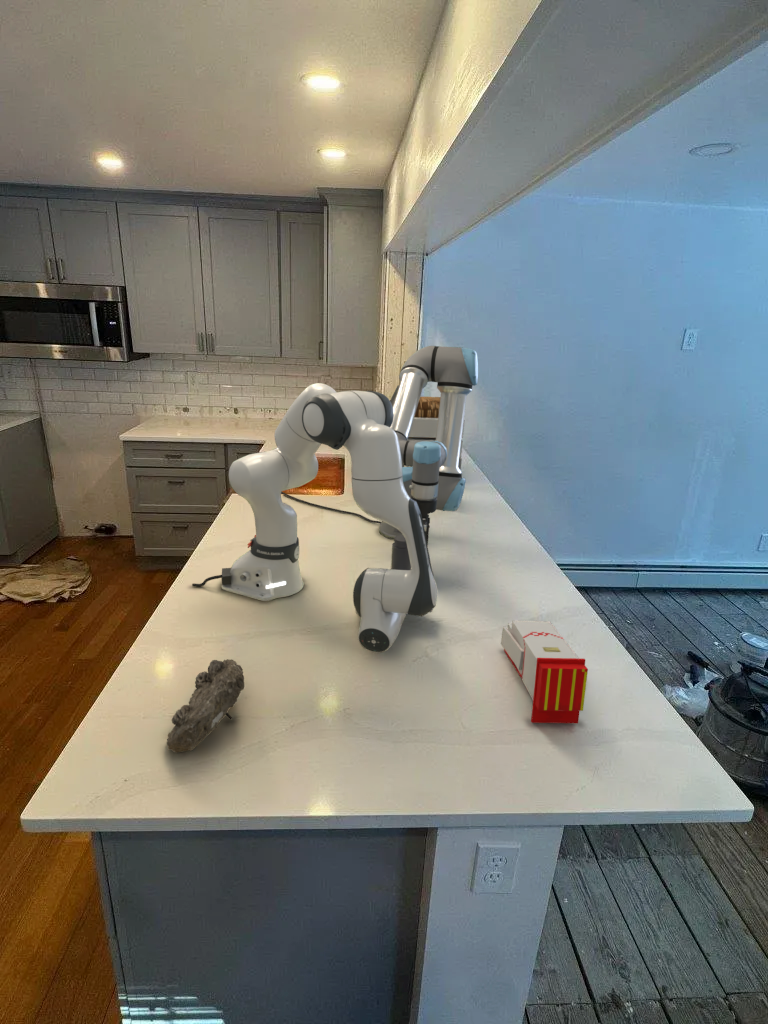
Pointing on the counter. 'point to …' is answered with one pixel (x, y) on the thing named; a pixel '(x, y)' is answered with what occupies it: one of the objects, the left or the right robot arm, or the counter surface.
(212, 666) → the fossil
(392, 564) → the dark gray cylinder
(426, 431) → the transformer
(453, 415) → the right robot arm
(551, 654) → the toy
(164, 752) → the counter surface
